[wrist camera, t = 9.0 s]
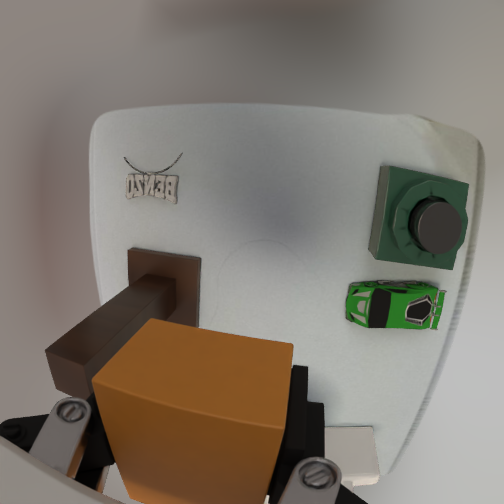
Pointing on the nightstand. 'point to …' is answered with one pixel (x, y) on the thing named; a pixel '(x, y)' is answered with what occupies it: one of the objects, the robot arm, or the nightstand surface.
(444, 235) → the dark grey button cap
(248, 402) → the orange block
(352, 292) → the toy car
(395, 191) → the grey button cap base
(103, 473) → the robot arm
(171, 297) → the stand
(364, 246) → the nightstand surface
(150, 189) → the necklace
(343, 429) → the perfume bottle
